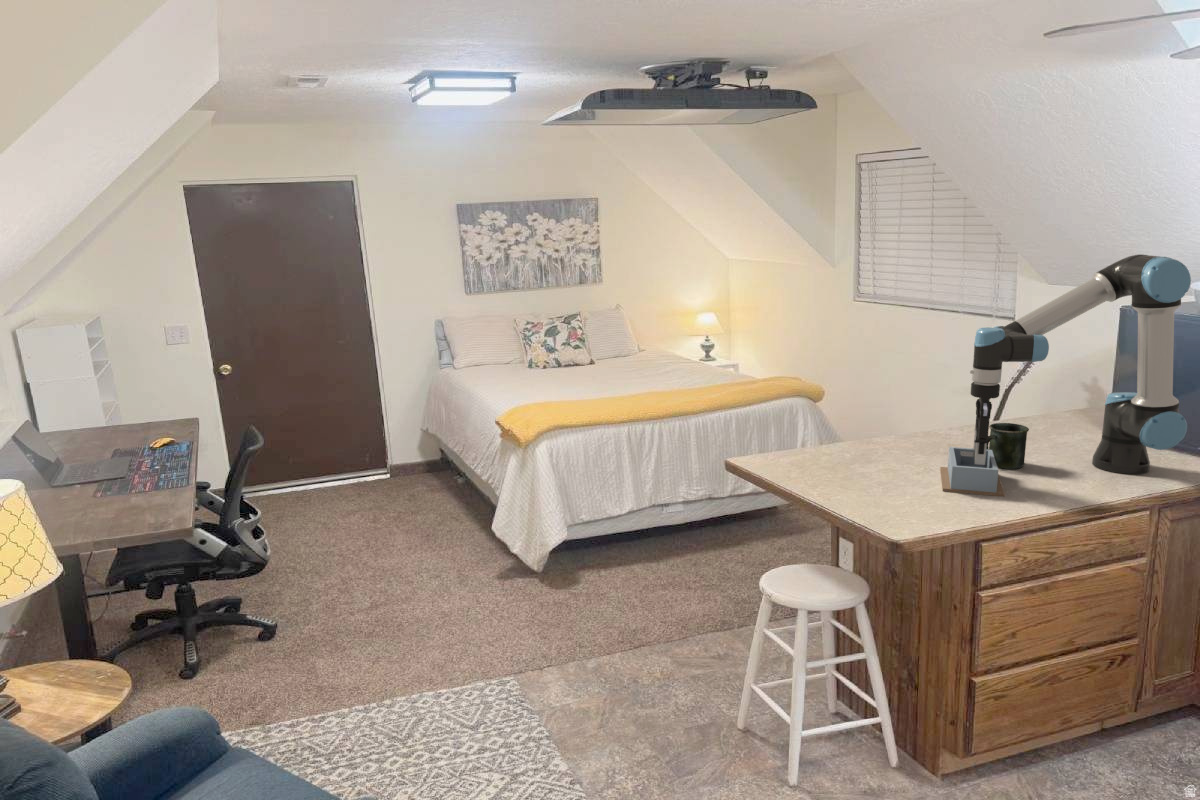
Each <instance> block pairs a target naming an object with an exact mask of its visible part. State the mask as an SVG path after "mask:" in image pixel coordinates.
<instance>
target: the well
mask: <svg viewBox="0 0 1200 800" xmlns="http://www.w3.org/2000/svg"><path fill="white" fill-rule="evenodd" d="M960 451H966V452H973V448H970V447H969V448H968V447H956V446H949V447H948V459H947V467H945V466H940V467H939V471H940V477H941V478H940V479H941V486H942V488H941V489H942V492H946V491H948V492H947V493H958V492H960V494H970V493H972V494H971V495H983V496H995V497H1005V491H1004V487H1003V484H1002V482H1001V481H1002V480H1001V479H1000V475H999V467H997V464H996V461H995V458H994V455H993V451H992V450H987V449H986V459H985V466H978V465H965V464H960Z"/></svg>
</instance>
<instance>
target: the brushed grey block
mask: <svg viewBox="0 0 1200 800" xmlns="http://www.w3.org/2000/svg"><path fill="white" fill-rule="evenodd" d="M977 437H978V427H975V426H974V438H973V441H974V440H976V441H977ZM986 448H987V447H986ZM972 449H973V452H966V451H960V464H965V465H978V466H985V465H979V464H974V463H975V451H976V443H974V442H973V448H972ZM985 459H986V458H985Z"/></svg>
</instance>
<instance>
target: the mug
mask: <svg viewBox="0 0 1200 800" xmlns="http://www.w3.org/2000/svg"><path fill="white" fill-rule="evenodd" d="M989 430H990V433H989V434H990V435H988V442H987V448H986V449H987V450H992V451H993V455H994V458H995V461H996V464H997V467H998V469H1000V468H1001V469H1006V470H1007V469H1008V470H1017V469H1020V468H1022V467H1024V465H1025V458H1026V446H1027V436H1028V432H1029V430H1030V428H1029V427H1028V426H1026V425H1022V424H1018V423H1010V422H996V423H992V424H989Z"/></svg>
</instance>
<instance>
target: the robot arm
mask: <svg viewBox="0 0 1200 800" xmlns="http://www.w3.org/2000/svg"><path fill="white" fill-rule="evenodd" d="M1191 281H1192V277H1191V272H1190V271H1189V269H1188V268H1187V266H1186V265H1185V264H1184V263H1183V262H1181V261H1180V260H1177V259H1175V258H1171V257H1169V256H1168V257H1167V256H1159V255H1158V256H1157V255H1148V254H1134V255H1133V254H1132V255H1130V256H1127V257H1124V258H1122V259H1120V260H1118V261H1115V262H1114V263H1111V264H1110V265H1107V266H1106V267H1104V268H1102V269H1100V270H1097V272H1095V273H1093V274H1092V278H1091V279H1089V280H1088V281H1085V282H1084V283H1082V284H1080V285H1078V286H1076V287H1074V288H1072V289H1071V290H1069V291H1067V292H1066V293H1063V294H1062V295H1060V296H1058V297H1057V298H1054V299H1053V300H1051V301H1048V302H1047V303H1045V304H1044V305H1042V306H1040V307H1038V308H1036V309H1034V310H1033V311H1030V312H1029V313H1027V314H1025V315H1024V316H1021V317H1020V318H1018V319H1015V320H1014V321H1012V322H1010V323H1008V324H1006V325H1005V326H1004V325H998V326H993V327H979V328H978V329H977V330H976V332H975V336H974V343H973V346H974V347H973V361H972V370H969V373H970V374H972V375H971V381H972V382H971V384H970V395H971V396H972V397H974V398H978V399H977V400H976V401H975V415H976V416H975V426H974V428H975V427H978V437H977V441H976V440H974V439H973V444H974V443H976V451H975V463H974V464H979V465H985V458H986V447H987V442H988V436H989V430H990V427H989V426H990V419H991V413H992V408H993V403H992V401H990V400H991V399H997V398H998V397H1000V393H1001V392H1000V391H1001V385H1000V383H1001V381H1002V380H1001V379H1002V372H1003V371H1002V370H1003V369H1002V368H1003V363H1009V362H1010V363H1015V362H1016V363H1019V362H1020V363H1021V362H1022V363H1023V362H1025V363H1034V362H1037V363H1038V362H1043V361H1045V360H1046V358H1047V357H1048V356H1049V355H1048V354H1049V349H1050V344H1049V341H1048V338H1047V337H1046V335H1045V334H1047V333H1049V332H1051V331H1053V330H1055V329H1056V328H1058V327H1061V326H1062V325H1064V324H1066V323H1068V322H1069V321H1072V320H1073V319H1075V318H1077V317H1080V315H1083V314H1085V313H1087V312H1088V311H1090V310H1092V309H1094V308H1096V307H1097V306H1100V305H1101V304H1103V303H1105V302H1109V303H1112V302H1114V301H1116V300H1118V299H1120V298H1124V297H1128V296H1131V308H1132V309H1133V310H1135V311H1136V312H1137V365H1136V366H1137V370H1136V371H1137V373H1136V374H1137V375H1136V378H1137V379H1136V381H1137V382H1136V392H1134V391H1132V392H1131V391H1130V392H1129V391H1125V392H1124V391H1123V392H1122V391H1121V392H1117V391H1116V392H1111V393H1109V394H1108V395H1107V396H1106V399H1105V404H1104V413H1103V414H1104V416H1103V423H1102V432H1101V440H1100V442H1099V444H1098V445H1097V448H1096V450H1095V451H1094V453H1093V456H1092V460H1091V461H1092V462H1091V464H1092V465H1093V466H1094V467H1095V468H1098V469H1100V470H1104V471H1108V472H1112V473H1117V474H1126V475H1127V474H1128V475H1131V474H1132V475H1134V474H1135V475H1138V474H1139V475H1141V474H1145V473H1148V472H1149V471H1150V465H1151V463H1150V462H1151V461H1150V457H1149V453H1148V448H1150V449H1154V450H1157V451H1158V450H1159V451H1162V450H1164V451H1165V450H1168V449H1172V448H1173V447H1176V446H1177V445H1178V444H1179V443H1180V442H1182V441H1183V440H1184V438H1185V436H1186V433H1187V431H1188V423H1187V420H1186V418H1185V417H1184V415H1182V414H1181V413H1180V412H1179V411H1180V401H1179V399H1178V398H1177V397H1175V396H1174V393H1173V392H1174V391H1173V388H1174V351H1175V350H1174V349H1175V348H1174V347H1175V346H1174V345H1175V344H1174V343H1175V342H1174V341H1175V311H1176V310H1177V309H1179V308H1180V307H1181V306H1182V298H1183V297H1185V296H1186V293H1187V292H1188V291H1189V289H1190V288H1191V284H1192V282H1191Z"/></svg>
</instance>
